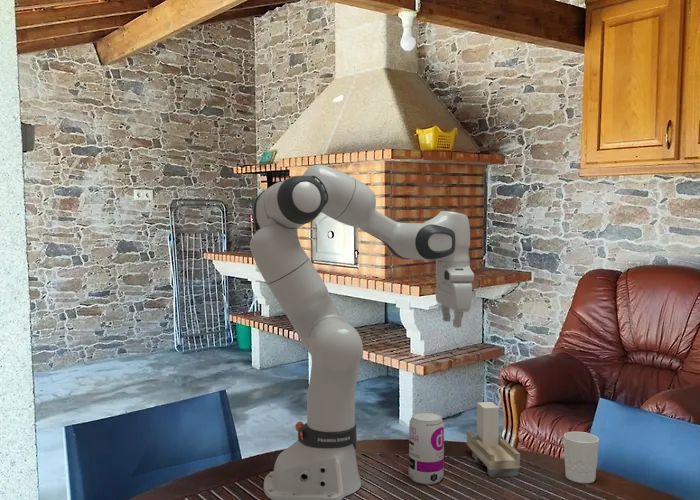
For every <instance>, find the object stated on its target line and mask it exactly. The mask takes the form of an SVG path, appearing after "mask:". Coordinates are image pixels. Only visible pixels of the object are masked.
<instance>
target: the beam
mask: <svg viewBox="0 0 700 500" xmlns="http://www.w3.org/2000/svg"><path fill="white" fill-rule="evenodd" d="M466 445H467V446H468V448H469V449H470V450H471V457H472V458H473V459H474V460H475V462H476V463H483V464H484V465H485V466H486V467H487V470H486V471H487V473H486V475H487V476H488V477H489V478H506V477H507V478H508V477H518V476H519V469H520V468H521V453H520V452H518V450H517V449H516V448H514V447H513V445H511V444H510V443H509V441H507V440H505V438H504V437H503V436H502V435H500V434H499V433H498V446H491V447H486V446H485V445H484V444H483V443H482V442H481V441H480V440H479V438H478V437H477V434H475V433H474V432H473V431H470V430H467V431H466Z"/></svg>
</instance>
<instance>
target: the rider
mask: <svg viewBox="0 0 700 500" xmlns="http://www.w3.org/2000/svg"><path fill="white" fill-rule="evenodd" d="M499 416H500V408H499V406H497V405H496V404H495V403H494V402H492V401H482V402H480V401H477V403H476V436H477V437H478V438H479V440H480V441H481V442H482V443H483V444H484V445H485V446H486V447H491V446H498V434H499V420H500V419H499Z"/></svg>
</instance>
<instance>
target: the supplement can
mask: <svg viewBox="0 0 700 500" xmlns="http://www.w3.org/2000/svg"><path fill="white" fill-rule="evenodd" d="M408 430H409V433H408V435H409V436H408V437H409V438H408V446H409V447H408V450H409V451H408V477H409V478H410V479H411V480H412V481H413V482H415V483H417V484H421V485H435V484H437V483H439V482H441V480H442V479H443V478H444V471H445V470H444V469H445V468H444V465H445V463H444V460H445V459H444V457H445V456H444V455H445V447H444V446H445V422H444V421H443V417H442V415H441V414H439V413H436V412H431V411H418V412H414V413H413V414H412V415H411V418H410V419H409V426H408Z"/></svg>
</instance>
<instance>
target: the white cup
mask: <svg viewBox="0 0 700 500" xmlns="http://www.w3.org/2000/svg"><path fill="white" fill-rule="evenodd" d="M599 443H600V439H599V437H598V436H597V435H594V434H592V433H589V432H584V431H567V432H565V433H564V434H563V445H564V446H563V452H564V466H565V467H564V470H565V472H564V474H565V477H566V479H567V480H570V481H571V482H574V483H579V484H591V483H594V482H595V480H596V478H597V467H598V457H599Z"/></svg>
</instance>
